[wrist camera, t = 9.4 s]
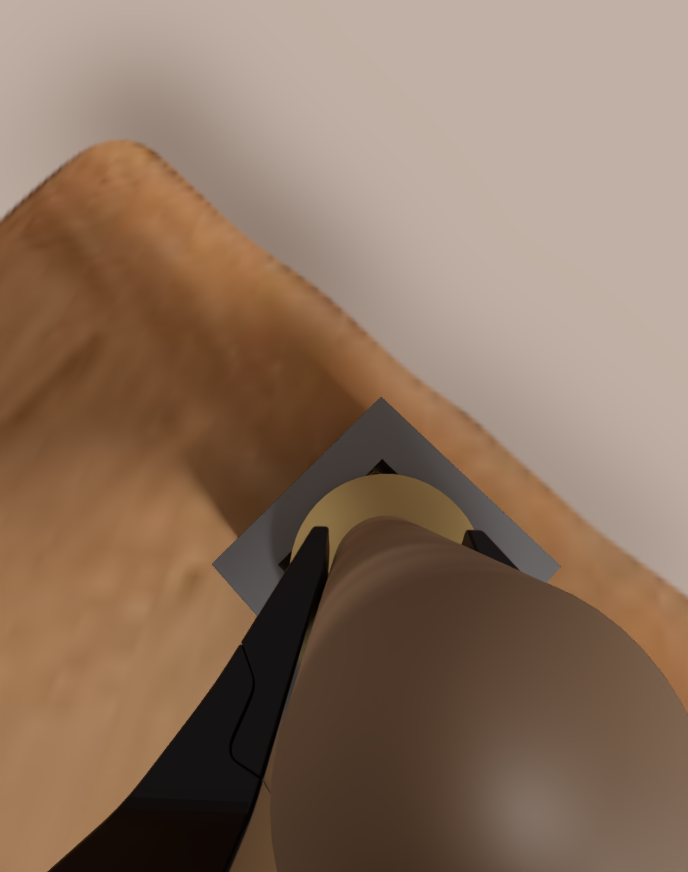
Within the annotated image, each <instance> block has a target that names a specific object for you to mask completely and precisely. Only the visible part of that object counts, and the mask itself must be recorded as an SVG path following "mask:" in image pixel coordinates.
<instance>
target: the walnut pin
mask: <svg viewBox="0 0 688 872" xmlns="http://www.w3.org/2000/svg"><path fill="white" fill-rule="evenodd" d="M314 526H326V527H328V528H329V543H330V554H329V574H328V578H327V581H326V585H325V588H324V591H323V594H322V598H321V601H320V604H319V607H318V611H317V614H316V617H315V620H314V624H313V627H312V630H311V633H310V637H309V640H308V643H307V646H306V649H305V653H304V656H303V659H302V662H301V666H300V669H299V672H298V675H297V679H296V682H295V685H294V688H293V692H292V695H291V698H290V701H289V705H288V708H287V711H286V714H285V718H284V721H283V725H282V728H281V732H280V735H279V739H278V742H277V746H276V752H275V759H274V765H273V771H272V778H271V798H270V819H271V835H272V846H273V852H274V857H275V863H276V869H277V872H688V714H687V712H686V710H685V708H684V706H683V704H682V702H681V701H680V699H679V697H678V696H677V694H676V693H675V691H674V690H673V688H672V687H671V685H670V684H669V682H668V680H667V679H666V677H665V676H664V674H663V673H662V672H661V671H660V669H659V668H658V667H657V666H656V664H655V663H654V662H653V661H652V660H651V658H650V657H649V656H648V655H647V653H646V652H645V651H644V650H643V649H642V648H641V647H640V646H639V645H638V644H637V643H636V642H635V641H634V640H633V639H632V638H631V637H630V636H629V635H628V634H627V633H626V632H625V631H624V630H623V629H622V628H621V627H619V626H618V625H617V624H615V623H614V622H613V621H612V620H610V619H609V618H608V617H606V616H605V615H604V614H603V613H601V612H600V611H599V610H597V609H596V608H594V607H592V606H591V605H589V604H587V603H586V602H584V601H582V600H581V599H579V598H577V597H576V596H574V595H572V594H570V593H568V592H565V591H563V590H561V589H559V588H557V587H554V586H552V585H550V584H548V583H545V582H543V581H541V580H539V579H537V578H534V577H532V576H530V575H528V574H525V573H523V572H521V571H519V570H517V569H514V568H512V567H510V566H508V565H505V564H503V563H501V562H499V561H497V560H494V559H492V558H490V557H488V556H485V555H483V554H481V553H479V552H477V551H474V550H472V549H470V548H468V547H466V546H463V545H461V544H462V540H463V537H464V534H465V531H466V530H474V528H473V527H472V525H471V523H470V522H469V520H468V518H467V517H466V516H465V515H464V513H463V512H462V511H461V509H460V508H459V507H458V506H457V505H456V504H455V503H454V502H453V501H452V500H451V499H450V498H449V497H447V496H446V495H445V494H443V493H442V492H441V491H439V490H438V489H436V488H434V487H433V486H431V485H429V484H427V483H425V482H422V481H420V480H418V479H414V478H411V477H407V476H402V475H396V474H375V475H368V476H364V477H360V478H356V479H354V480H351V481H349V482H346V483H344V484H342V485H341V486H339V487H337V488H335V489H334V490H332V491H331V492H330V493H328V494H327V495H326V496H324V497H323V498H322V499H321V500H320V501H319V502H318V503H317V504H316V505H315V506H314V508H313V509H312V510H311V511H310V513H309V514H308V515H307V517H306V519H305V520H304V522H303V524H302V525H301V527H300V530H299V532H298V534H297V536H296V539H295V543H294V546H293V549H292V554H291V560H290V563H291V561H292V560H293V558H294V556H295V555H296V553H297V552H298V550H299V548H300V547H301V545H302V544H303V542H304V540H305V539H306V537H307V536H308V534H309V532H310V531H311V529H312V528H313V527H314Z"/></svg>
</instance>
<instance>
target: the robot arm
mask: <svg viewBox="0 0 688 872" xmlns="http://www.w3.org/2000/svg"><path fill="white" fill-rule="evenodd" d="M461 545H463V546H466V547H468V548H470V549H472V550H474V551H477V552H479V553H481V554H483V555H485V556H488V557H490V558H492V559H494V560H497V561H499V562H501V563H503V564H505V565H508V566H510V567H512V568H514V569H517V570H519V569H518V568H517V567H516V565H515V564H514V563H513V562H512V561H511V560H510V559H509V558H508V557H507V556H506V555H505V554H504V553H503V552H502V550H501V549H500V548H499V547H498V546H497V545H496V544H495V543H494V542H493V541H492V540H491V539H490V538H489V536H488V535H487V534H486V533H485V532H484V531H482V530H466V531H465V534H464V537H463V540H462V544H461ZM329 554H330V543H329V528H328V527H326V526H314V527H313V528H312V529H311V531H310V532H309V534H308V536H307V537H306V539H305V540H304V542H303V544H302V545H301V547H300V548H299V550H298V552H297V553H296V555H295V556H294V558H293V560H292V561H291V563H290V564H289V566H288V568H287V569H286V571H285V572H284V574H283V576H282V577H281V579H280V581H279V582H278V584H277V585H276V587H275V589H274V590H273V592H272V593H271V595H270V597H269V598H268V600H267V601H266V603H265V605H264V606H263V608H262V609H261V611H260V613H259V614H258V616H257V618H256V619H255V621H254V622H253V624H252V626H251V627H250V629H249V630H248V632H247V634H246V635H245V637H244V638H243V640H242V645H239V646H238V648H237V649H236V651H235V653H234V654H233V656H232V657H231V659H230V661H229V662H228V664H227V665H226V667H225V668H224V670H223V671H222V673H221V674H220V676H219V677H218V679H217V680H216V682H215V683H214V685H213V686H212V688H211V689H210V690H209V692H208V693H207V694H206V696H205V697H204V699H203V700H202V701H201V703H200V704H199V705H198V707H197V708H196V710H195V711H194V712H193V714H192V715H191V716H190V717H189V719H188V720H187V721H186V723H185V724H184V725H183V727H182V728H181V729H180V731H179V732H178V733H177V734H176V736H175V737H174V738H173V740H172V741H171V742H170V744H169V745H168V746H167V748H166V749H165V750H164V751H163V753H162V754H161V755H160V757H159V758H158V759H157V761H156V762H155V763H154V765H153V766H152V767H151V768H150V770H149V771H148V772H147V774H146V775H145V776H144V778H143V779H142V780H141V781H140V783H139V784H138V785H137V786H136V787H135V789H134V790H133V791H132V792H131V793H130V795H129V796H128V797H127V798H126V799H125V800H124V801H123V802H122V803H121V804H120V806H119V807H118V808H117V809H116V810H115V811H114V812H113V813H112V814H111V815H110V816H109V817H108V818H107V819H106V820H105V821H103V822H102V823H101V824H100V825H99V826H98V827H97V828H96V829H95V830H94V831H92V832H91V833H90V834H89V835H88V836H87V837H86V838H85V839H83V840H82V841H81V842H80V843H79V844H78V845H77V846H76V847H74V848H73V849H72V850H71V851H70V852H69V853H68V854H67V855H65V856H64V857H63V858H62V859H61V860H60V861H59V862H58V863H57V864H55V865H54V866H53V867H52V868H51V869H50V870H49V871H48V872H277V869H276V863H275V857H274V852H273V846H272V835H271V819H270V798H271V778H272V771H273V765H274V759H275V752H276V746H277V742H278V739H279V735H280V732H281V728H282V725H283V721H284V718H285V714H286V711H287V708H288V705H289V701H290V698H291V695H292V692H293V688H294V685H295V682H296V679H297V675H298V672H299V669H300V666H301V662H302V659H303V656H304V653H305V649H306V646H307V643H308V640H309V637H310V633H311V630H312V627H313V624H314V620H315V617H316V614H317V611H318V607H319V604H320V601H321V598H322V594H323V591H324V588H325V585H326V581H327V578H328V574H329ZM519 571H520V570H519Z"/></svg>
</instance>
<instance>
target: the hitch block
mask: <svg viewBox="0 0 688 872" xmlns="http://www.w3.org/2000/svg"><path fill="white" fill-rule="evenodd" d="M375 467H376V468H377V469H378V470H379V471H380V472H381V473H382V474H396V475H402V476H407V477H411V478H414V479H418V480H420V481H422V482H425V483H427V484H429V485H431V486H433V487H434V488H436V489H438V490H439V491H441V492H442V493H443V494H445V495H446V496H447V497H449V498H450V499H451V500H452V501H453V502H454V503H455V504H456V505H457V506H458V507H459V508H460V509H461V511H462V512H463V513H464V515H465V516H466V517H467V518H468V520H469V522H470V523H471V525H472V527H473V528H474V530H482V531H484V532H485V533H486V534H487V535H488V536H489V538H490V539H491V540H492V541H493V542H494V543H495V544H496V545H497V546H498V547H499V548H500V549H501V550H502V552H503V553H504V554H505V555H506V556H507V557H508V558H509V559H510V560H511V561H512V562H513V563H514V564H515V565H516V567H517V568H518V569H519V570H520V571H521V572H523V573H525V574H528V575H530V576H532V577H534V578H537V579H539V580H541V581H543V582H545V583H547V582H548V580H549V579H550V578H551V577H552V576H553V575H554V574H555V572H556V571H557V570H558V569H559V568H560V567H561V566H560V565H559V564H558V563H557V562H556V561H555V560H554V559H553V558H552V557H551V556H549V555H548V554H547V553H546V552H545V551H544V550H543V549H542V548H541V547H540V546H539V545H538V544H537V543H536V542H535V541H534V540H532V539H531V538H530V537H529V536H528V535H527V534H526V533H525V532H524V531H523V530H522V529H521V528H520V527H519V526H518V525H517V524H516V523H514V522H513V521H512V520H511V519H510V518H509V517H508V516H507V515H506V514H505V513H504V512H503V511H502V510H501V509H500V508H499V507H498V506H496V505H495V504H494V503H493V502H492V501H491V500H490V499H489V498H488V497H487V496H486V495H485V494H484V493H483V492H482V491H481V490H480V489H478V488H477V487H476V486H475V485H474V484H473V483H472V482H471V481H470V480H469V479H468V478H467V477H466V476H465V475H464V474H463V473H461V472H460V471H459V470H458V469H457V468H456V467H455V466H454V465H453V464H452V463H451V462H450V461H449V460H448V459H447V458H446V457H445V456H443V455H442V454H441V453H440V452H439V451H438V450H437V449H436V448H435V447H434V446H433V445H432V444H431V443H430V442H429V441H428V440H427V439H425V438H424V437H423V436H422V435H421V434H420V433H419V432H418V431H417V430H416V429H415V428H414V427H413V426H412V425H411V424H410V423H408V422H407V421H406V420H405V419H404V418H403V417H402V416H401V415H400V414H399V413H398V412H397V411H396V410H395V409H394V408H393V407H392V406H390V405H389V404H388V403H387V402H386V401H385V400H384V399H383V398H382V397H380V398H379V399H378V400H377V401H376V402H375V403H374V404H373V405H372V406H371V407H370V408H369V409H368V410H367V411H366V412H365V413H364V414H363V415H362V416H361V417H360V418H359V419H358V420H357V421H356V422H355V423H354V424H353V425H352V426H351V427H350V428H349V429H348V430H347V431H346V432H345V433H344V434H343V435H342V436H341V437H340V438H339V439H338V440H337V441H336V442H335V443H334V444H333V445H332V446H331V447H330V448H329V449H328V450H327V451H326V452H325V453H324V454H323V455H322V456H321V457H320V458H319V459H318V460H317V461H316V462H315V463H314V464H313V465H312V466H311V467H310V468H309V469H308V470H307V471H305V472H304V473H303V474H302V475H301V476H300V477H299V478H298V479H297V480H296V481H295V482H294V483H293V484H292V485H291V486H290V487H289V488H288V489H287V490H286V491H285V492H284V493H283V494H282V495H281V496H280V497H279V498H278V499H277V500H276V501H275V502H274V503H273V504H272V505H271V506H270V507H269V508H268V509H267V510H266V511H265V512H264V513H263V514H262V515H261V516H260V517H259V518H258V519H257V520H256V521H255V522H254V523H253V524H252V525H251V526H250V527H249V528H248V529H247V530H246V531H245V532H244V533H243V534H242V535H241V536H240V537H239V538H238V539H237V540H236V541H235V542H234V543H233V544H232V545H231V546H230V547H229V548H227V549H226V550H225V551H224V552H223V553H222V554H221V555H220V556H219V557H218V558H217V559H216V560H215V561H214V562H213V563H212V565H213V566H214V567H215V569H216V570H217V571H218V572H219V573H220V574H221V575H222V577H223V578H224V579H225V580H226V581H227V582H228V583H229V585H230V586H231V587H232V588H233V589H234V590H235V591H236V592H237V594H238V595H239V596H240V597H241V598H242V599H243V600H244V602H245V603H246V604H247V605H248V606H249V607H250V608H251V610H252V611H253V612H254V613H255V614H256V615H257V616H258V614H259V613H260V611H261V609H262V608H263V606H264V605H265V603H266V601H267V600H268V598H269V597H270V595H271V593H272V592H273V590H274V589H275V587H276V585H277V584H278V582H279V581H280V579H281V577H282V576H283V574H284V572H285V571H286V569H287V568H288V566H289V564H290V560H291V554H292V549H293V546H294V543H295V539H296V536H297V534H298V532H299V530H300V527H301V525H302V524H303V522H304V520H305V519H306V517H307V515H308V514H309V513H310V511H311V510H312V509H313V508H314V506H315V505H316V504H317V503H318V502H319V501H320V500H321V499H322V498H323V497H324V496H326V495H327V494H328V493H330V492H331V491H332V490H334V489H335V488H337V487H339V486H341V485H342V484H344V483H346V482H349V481H351V480H354V479H356V478H360V477H364V476H367V475H368V474H369V473H370V472H371V471H372V470H373V469H374V468H375Z"/></svg>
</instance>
